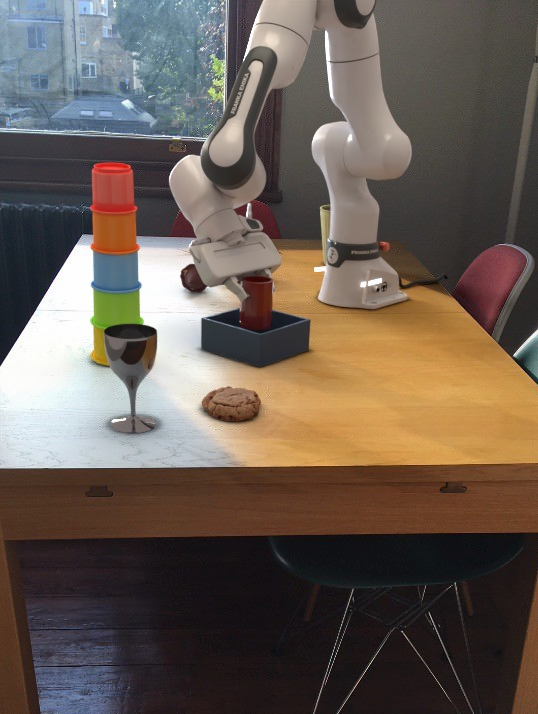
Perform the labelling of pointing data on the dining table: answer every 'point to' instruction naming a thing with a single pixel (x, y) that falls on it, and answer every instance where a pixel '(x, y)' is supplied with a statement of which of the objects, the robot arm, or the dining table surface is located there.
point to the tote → (255, 337)
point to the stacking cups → (113, 253)
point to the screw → (249, 210)
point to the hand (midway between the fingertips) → (259, 296)
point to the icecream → (192, 279)
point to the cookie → (231, 403)
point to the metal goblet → (131, 367)
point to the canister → (257, 303)
